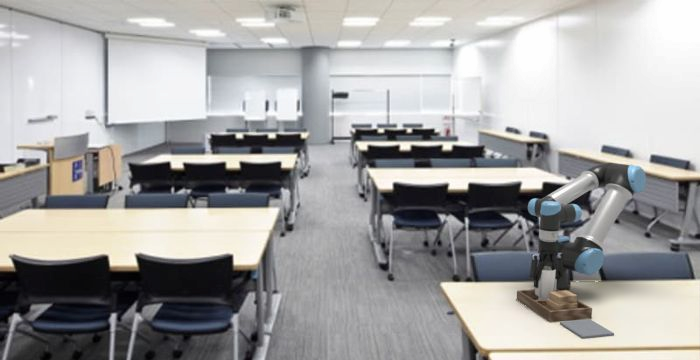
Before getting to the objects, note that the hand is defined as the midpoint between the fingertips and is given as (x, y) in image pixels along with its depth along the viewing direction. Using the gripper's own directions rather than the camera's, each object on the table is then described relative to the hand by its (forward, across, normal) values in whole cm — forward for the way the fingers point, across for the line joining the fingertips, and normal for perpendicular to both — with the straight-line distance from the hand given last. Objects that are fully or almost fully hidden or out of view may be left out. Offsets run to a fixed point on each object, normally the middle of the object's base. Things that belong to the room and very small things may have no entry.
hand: (545, 294), depth 226 cm
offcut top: (-1, 0, -12) cm, 12 cm away
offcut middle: (+2, 0, -12) cm, 12 cm away
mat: (+4, 0, -26) cm, 27 cm away
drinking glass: (+4, 0, 0) cm, 4 cm away
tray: (+4, 0, -6) cm, 7 cm away
